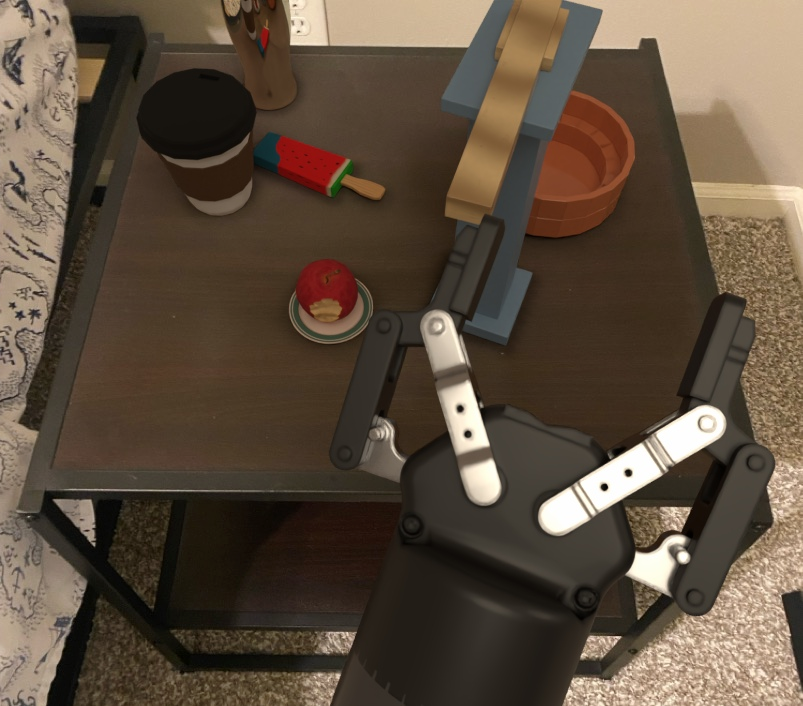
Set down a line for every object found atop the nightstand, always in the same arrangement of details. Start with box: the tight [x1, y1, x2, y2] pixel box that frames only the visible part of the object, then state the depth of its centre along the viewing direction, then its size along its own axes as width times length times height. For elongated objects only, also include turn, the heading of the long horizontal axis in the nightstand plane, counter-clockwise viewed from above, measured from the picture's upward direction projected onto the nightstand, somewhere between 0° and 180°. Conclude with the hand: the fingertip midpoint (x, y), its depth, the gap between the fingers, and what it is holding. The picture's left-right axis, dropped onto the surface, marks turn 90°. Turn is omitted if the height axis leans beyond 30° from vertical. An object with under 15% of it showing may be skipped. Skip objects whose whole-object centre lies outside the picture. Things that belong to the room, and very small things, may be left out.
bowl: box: [525, 89, 636, 239], centre depth 74 cm, size 16×16×6 cm
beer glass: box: [219, 0, 298, 111], centre depth 76 cm, size 7×7×15 cm
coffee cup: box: [135, 67, 258, 217], centre depth 70 cm, size 11×11×12 cm
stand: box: [429, 0, 604, 346], centre depth 57 cm, size 12×8×28 cm, turn 158°
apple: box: [288, 258, 374, 345], centre depth 65 cm, size 8×8×6 cm
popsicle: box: [253, 131, 386, 201], centre depth 76 cm, size 5×2×15 cm
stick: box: [444, 0, 569, 225], centre depth 41 cm, size 18×4×2 cm, turn 162°
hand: (608, 257), depth 25 cm, fingers open, 8 cm apart
